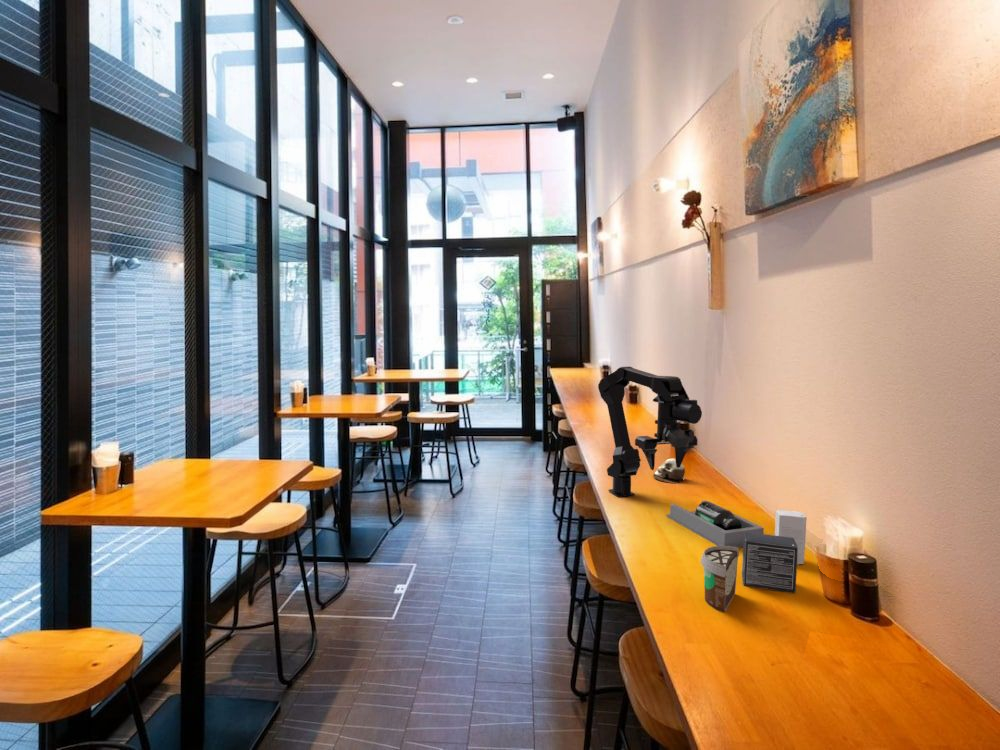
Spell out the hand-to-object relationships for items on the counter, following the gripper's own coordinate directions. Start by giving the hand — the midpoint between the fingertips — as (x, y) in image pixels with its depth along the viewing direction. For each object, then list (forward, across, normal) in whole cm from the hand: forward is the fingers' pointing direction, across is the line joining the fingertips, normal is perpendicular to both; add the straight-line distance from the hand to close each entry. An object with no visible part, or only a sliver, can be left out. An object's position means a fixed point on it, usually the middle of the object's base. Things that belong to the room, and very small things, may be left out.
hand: (665, 468), depth 172 cm
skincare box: (+13, +8, -40) cm, 43 cm away
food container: (+13, -22, -50) cm, 56 cm away
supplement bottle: (+9, +3, -15) cm, 17 cm away
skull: (+13, +22, +28) cm, 38 cm away
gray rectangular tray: (+13, +4, -18) cm, 22 cm away
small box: (+13, -6, -48) cm, 50 cm away
